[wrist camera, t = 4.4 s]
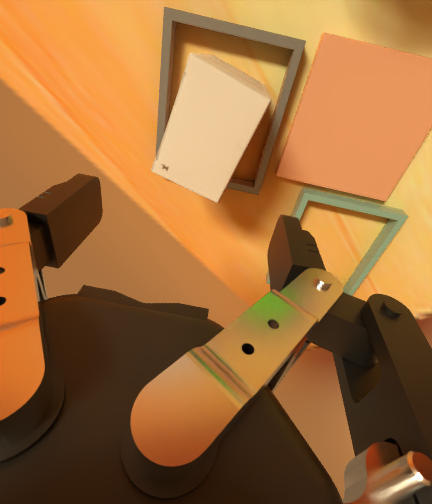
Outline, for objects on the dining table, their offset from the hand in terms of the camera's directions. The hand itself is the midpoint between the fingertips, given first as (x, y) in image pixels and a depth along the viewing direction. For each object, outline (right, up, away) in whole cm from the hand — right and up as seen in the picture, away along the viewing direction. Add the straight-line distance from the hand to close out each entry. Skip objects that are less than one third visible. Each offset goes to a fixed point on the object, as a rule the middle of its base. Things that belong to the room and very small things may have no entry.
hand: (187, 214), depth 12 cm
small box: (+2, +12, +15) cm, 19 cm away
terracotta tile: (+15, +10, +14) cm, 22 cm away
